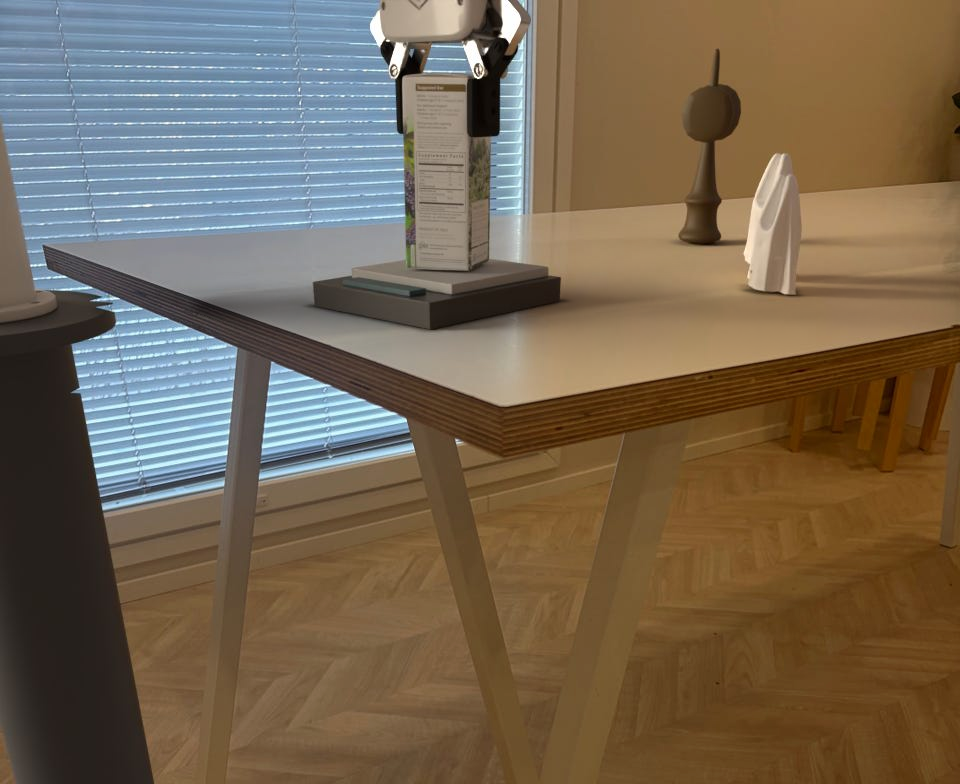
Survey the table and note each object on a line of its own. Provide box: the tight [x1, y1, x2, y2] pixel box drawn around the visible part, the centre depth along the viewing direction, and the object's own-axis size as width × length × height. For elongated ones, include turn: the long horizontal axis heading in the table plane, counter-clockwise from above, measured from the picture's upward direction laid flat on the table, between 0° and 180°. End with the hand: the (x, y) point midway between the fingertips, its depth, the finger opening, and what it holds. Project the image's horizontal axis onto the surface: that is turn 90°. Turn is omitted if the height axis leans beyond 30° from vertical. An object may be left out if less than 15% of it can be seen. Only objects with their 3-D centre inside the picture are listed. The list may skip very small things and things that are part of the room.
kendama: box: [677, 48, 742, 244], centre depth 117 cm, size 6×10×20 cm, turn 163°
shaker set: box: [743, 152, 803, 296], centre depth 94 cm, size 12×4×11 cm, turn 171°
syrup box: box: [402, 72, 492, 271], centre depth 85 cm, size 6×6×14 cm
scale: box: [312, 258, 562, 330], centre depth 88 cm, size 16×14×3 cm
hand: (447, 133), depth 83 cm, fingers closed on syrup box, 7 cm apart
